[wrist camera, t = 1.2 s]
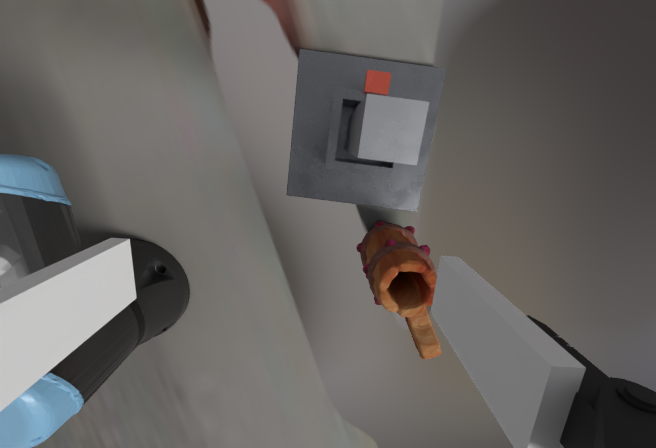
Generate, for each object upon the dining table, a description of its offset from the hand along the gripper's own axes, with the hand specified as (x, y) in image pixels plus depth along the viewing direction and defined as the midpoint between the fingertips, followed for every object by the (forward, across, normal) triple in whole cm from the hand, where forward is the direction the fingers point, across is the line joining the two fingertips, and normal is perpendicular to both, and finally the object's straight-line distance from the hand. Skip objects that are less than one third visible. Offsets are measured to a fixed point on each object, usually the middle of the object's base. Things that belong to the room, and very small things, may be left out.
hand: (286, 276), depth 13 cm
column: (+29, +6, +7) cm, 30 cm away
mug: (+30, +12, -11) cm, 34 cm away
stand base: (+30, +6, +7) cm, 31 cm away
